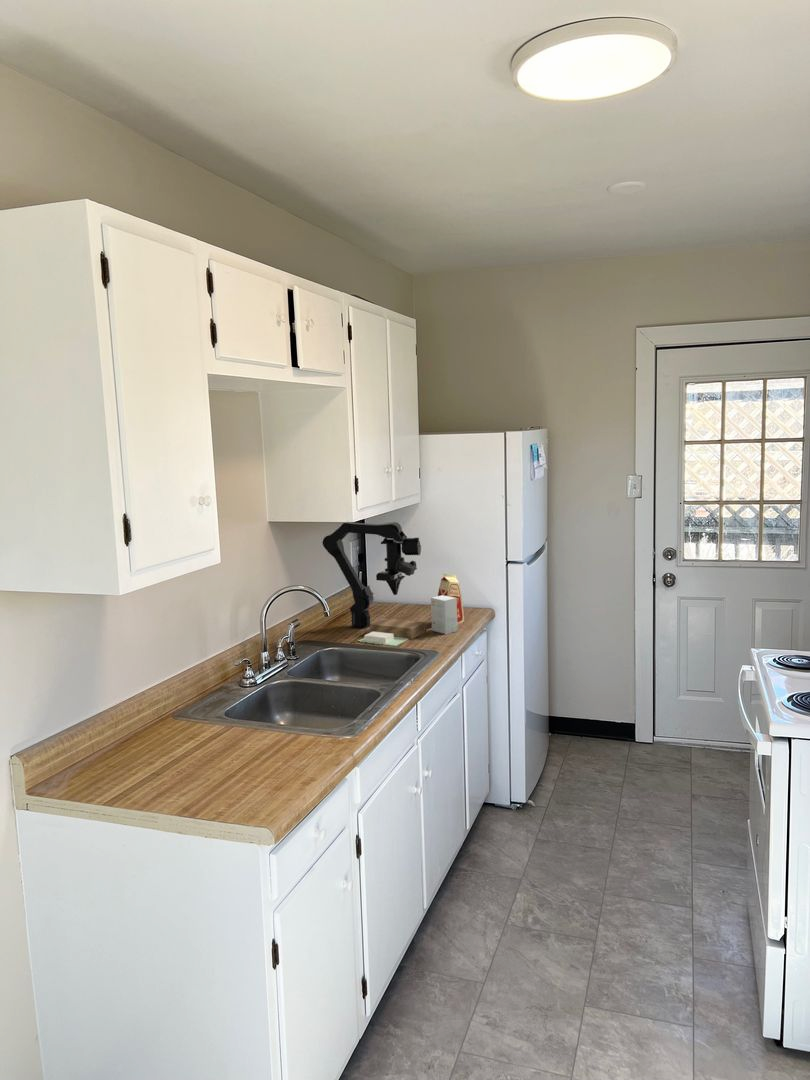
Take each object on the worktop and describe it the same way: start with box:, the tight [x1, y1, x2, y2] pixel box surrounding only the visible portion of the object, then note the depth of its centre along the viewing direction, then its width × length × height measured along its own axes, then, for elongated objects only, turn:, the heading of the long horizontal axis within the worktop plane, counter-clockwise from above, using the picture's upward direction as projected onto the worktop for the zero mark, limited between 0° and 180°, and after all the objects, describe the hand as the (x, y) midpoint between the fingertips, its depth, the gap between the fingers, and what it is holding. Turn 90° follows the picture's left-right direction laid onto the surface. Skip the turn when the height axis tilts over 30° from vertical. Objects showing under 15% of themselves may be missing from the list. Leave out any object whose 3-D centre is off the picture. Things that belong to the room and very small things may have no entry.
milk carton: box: [437, 573, 465, 625], centre depth 319 cm, size 9×9×20 cm
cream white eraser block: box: [363, 632, 394, 643], centre depth 296 cm, size 9×6×2 cm, turn 61°
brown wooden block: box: [369, 617, 425, 640], centre depth 305 cm, size 18×10×4 cm, turn 61°
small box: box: [430, 595, 458, 635], centre depth 306 cm, size 8×6×13 cm
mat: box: [358, 637, 410, 647], centre depth 296 cm, size 16×10×1 cm, turn 61°
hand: (395, 594), depth 313 cm, fingers closed
